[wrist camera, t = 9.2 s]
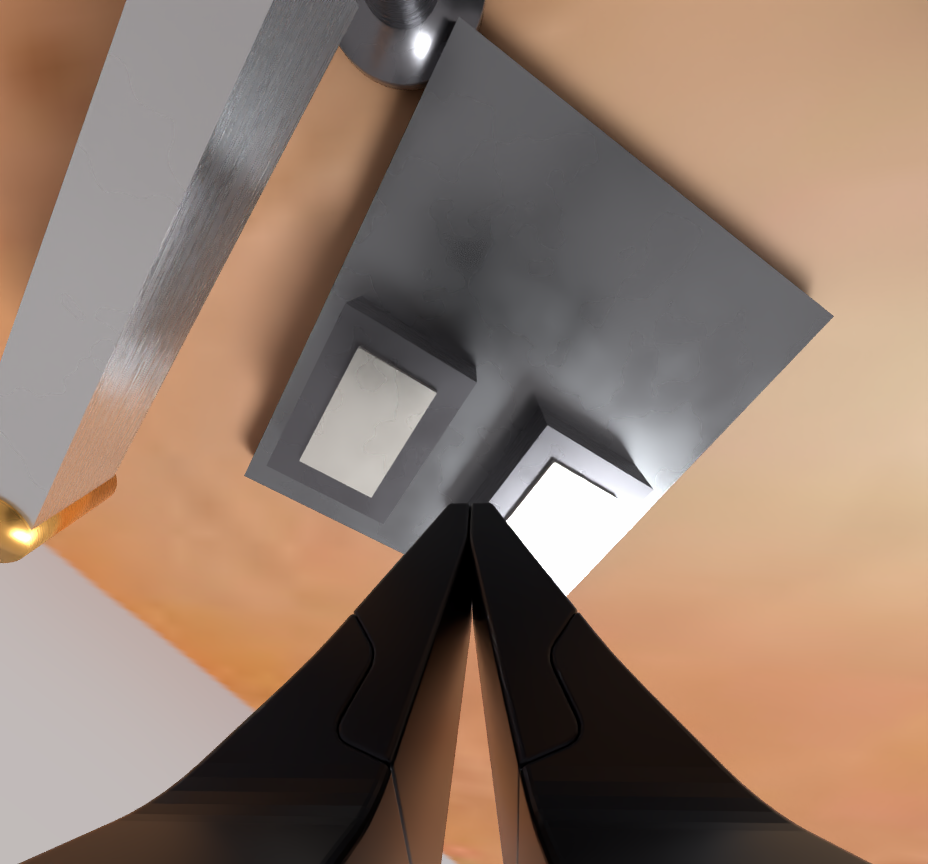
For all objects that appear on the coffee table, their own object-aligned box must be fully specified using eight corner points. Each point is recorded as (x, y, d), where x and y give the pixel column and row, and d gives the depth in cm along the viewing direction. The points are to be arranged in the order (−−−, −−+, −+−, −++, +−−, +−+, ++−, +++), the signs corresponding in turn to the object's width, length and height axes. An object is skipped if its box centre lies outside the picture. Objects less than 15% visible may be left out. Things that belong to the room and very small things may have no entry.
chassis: (460, 32, 13) (456, -29, 10) (813, 312, 16) (888, 327, 13) (254, 464, 20) (216, 503, 17) (538, 606, 23) (548, 659, 20)
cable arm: (274, -74, 9) (180, -223, 6) (366, 16, 10) (322, -81, 7) (35, 476, 15) (-72, 533, 12) (103, 513, 15) (16, 576, 13)
